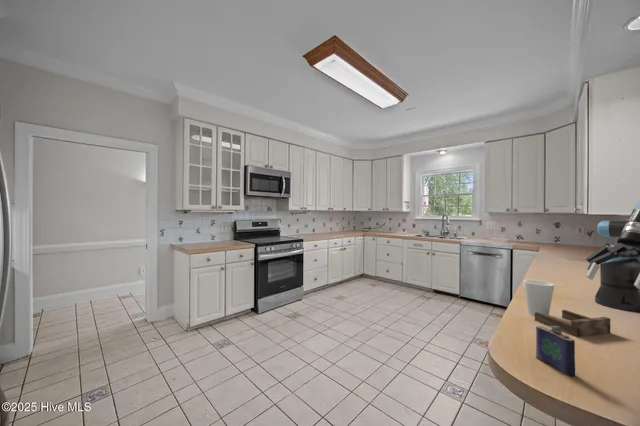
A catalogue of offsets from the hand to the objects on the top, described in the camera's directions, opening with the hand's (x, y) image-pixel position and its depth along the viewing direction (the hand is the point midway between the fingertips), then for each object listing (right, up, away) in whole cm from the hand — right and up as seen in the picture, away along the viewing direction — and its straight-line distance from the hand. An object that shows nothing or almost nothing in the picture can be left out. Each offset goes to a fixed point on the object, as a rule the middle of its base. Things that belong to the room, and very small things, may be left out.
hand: (611, 282), depth 96 cm
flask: (-47, -15, -28) cm, 57 cm away
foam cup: (-21, -15, +8) cm, 27 cm away
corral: (-19, -15, -3) cm, 25 cm away
